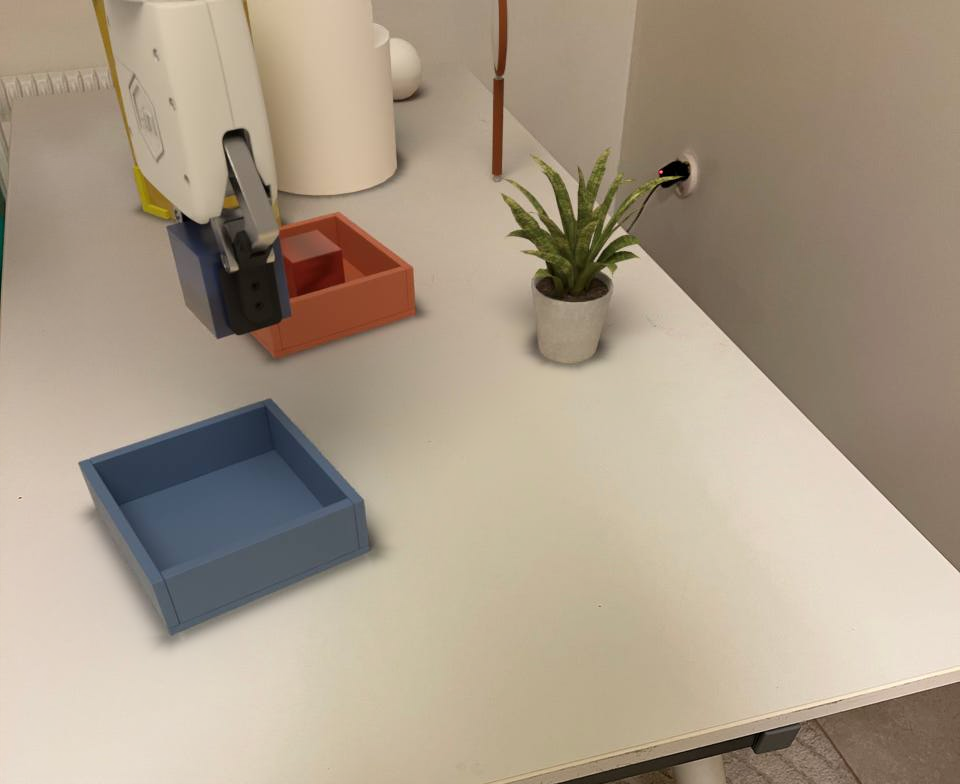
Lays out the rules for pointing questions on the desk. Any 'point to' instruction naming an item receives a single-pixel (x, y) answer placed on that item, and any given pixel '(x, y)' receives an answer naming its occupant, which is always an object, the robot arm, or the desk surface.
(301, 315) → the red bin
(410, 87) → the white egg
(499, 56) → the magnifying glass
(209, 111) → the robot arm
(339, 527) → the blue bin
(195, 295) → the blue block
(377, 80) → the cylinder
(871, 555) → the desk surface
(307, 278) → the red block
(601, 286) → the house plant
